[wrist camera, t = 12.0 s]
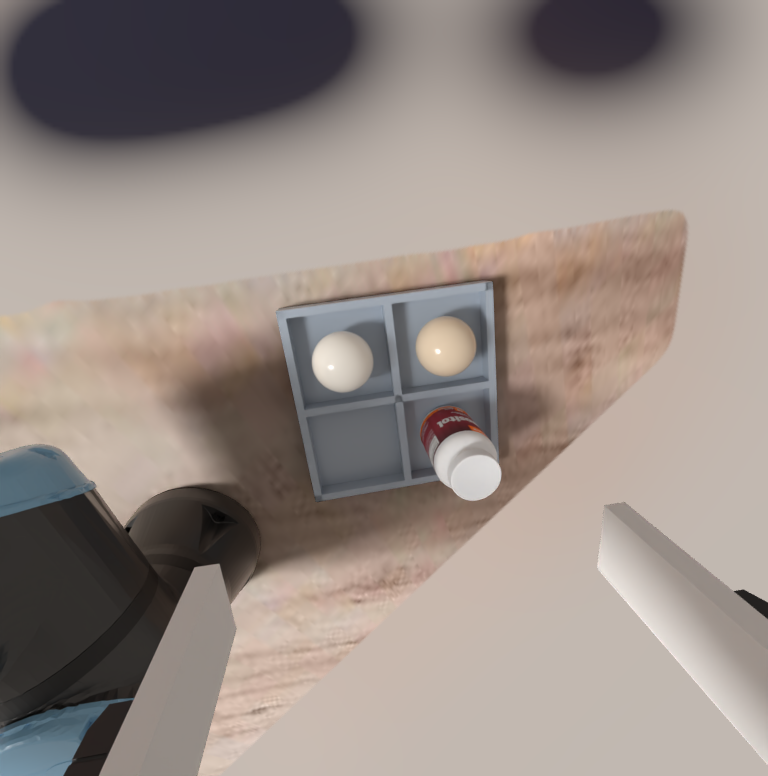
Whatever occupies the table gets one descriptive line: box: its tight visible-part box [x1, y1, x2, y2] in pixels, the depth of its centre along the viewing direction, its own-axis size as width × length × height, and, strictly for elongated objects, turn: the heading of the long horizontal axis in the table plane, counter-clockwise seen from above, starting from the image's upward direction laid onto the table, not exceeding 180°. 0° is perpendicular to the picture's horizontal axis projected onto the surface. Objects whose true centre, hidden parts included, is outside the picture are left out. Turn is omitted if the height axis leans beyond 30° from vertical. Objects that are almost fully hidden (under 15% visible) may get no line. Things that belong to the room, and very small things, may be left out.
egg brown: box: [415, 316, 476, 377], centre depth 39 cm, size 6×6×6 cm
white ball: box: [312, 331, 374, 393], centre depth 38 cm, size 6×6×6 cm
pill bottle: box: [420, 405, 501, 501], centre depth 40 cm, size 6×6×11 cm
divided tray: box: [276, 280, 499, 502], centre depth 42 cm, size 21×21×3 cm
